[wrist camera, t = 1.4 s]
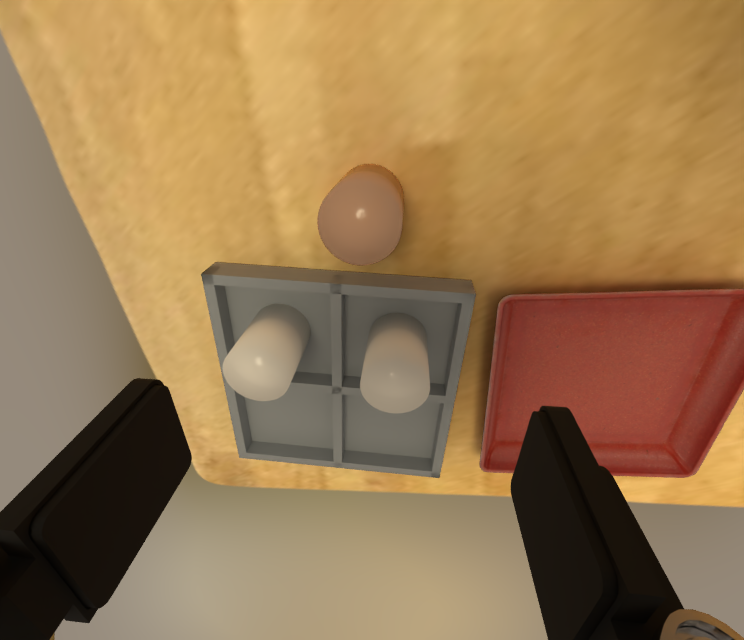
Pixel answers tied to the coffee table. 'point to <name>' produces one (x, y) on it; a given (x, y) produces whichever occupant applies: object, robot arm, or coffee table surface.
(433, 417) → the gray divided tray
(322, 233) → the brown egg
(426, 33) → the coffee table surface
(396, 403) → the cream rounded cylinder
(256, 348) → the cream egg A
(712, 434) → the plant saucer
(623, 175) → the coffee table surface
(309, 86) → the coffee table surface
